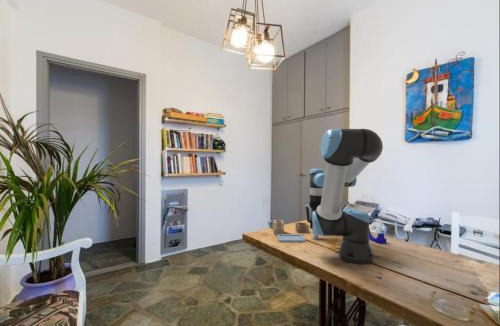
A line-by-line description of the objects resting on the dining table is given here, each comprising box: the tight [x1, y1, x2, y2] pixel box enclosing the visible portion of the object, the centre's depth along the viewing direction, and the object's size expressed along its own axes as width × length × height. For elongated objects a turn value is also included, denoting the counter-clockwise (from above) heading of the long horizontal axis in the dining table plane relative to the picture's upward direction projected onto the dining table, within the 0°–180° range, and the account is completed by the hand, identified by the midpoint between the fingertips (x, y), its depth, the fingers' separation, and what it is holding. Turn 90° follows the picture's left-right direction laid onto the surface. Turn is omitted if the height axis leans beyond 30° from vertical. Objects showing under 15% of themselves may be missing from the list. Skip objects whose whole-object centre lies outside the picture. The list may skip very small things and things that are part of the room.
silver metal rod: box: [312, 232, 319, 241], centre depth 142 cm, size 3×3×14 cm
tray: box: [276, 233, 307, 243], centre depth 142 cm, size 11×15×1 cm
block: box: [272, 219, 285, 236], centre depth 152 cm, size 6×6×8 cm
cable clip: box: [369, 228, 387, 245], centre depth 140 cm, size 12×4×6 cm, turn 18°
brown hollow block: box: [295, 222, 310, 234], centre depth 157 cm, size 7×7×5 cm
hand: (315, 234), depth 142 cm, fingers closed on silver metal rod, 3 cm apart
